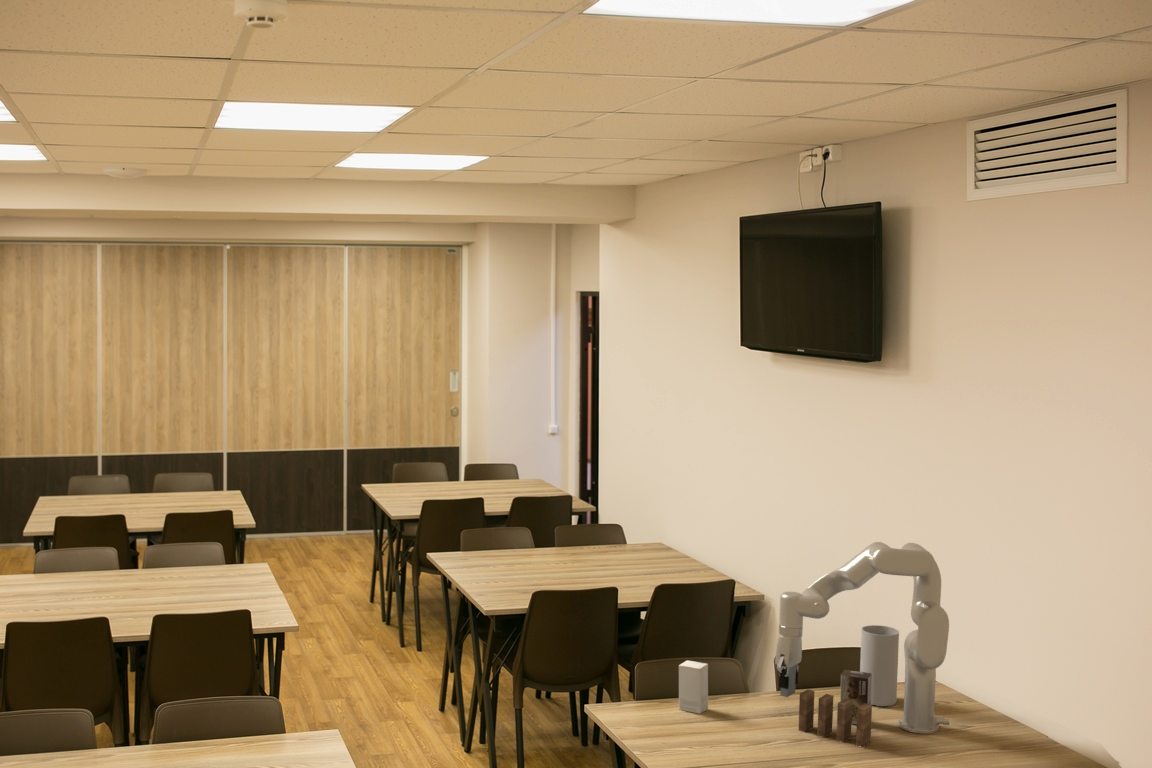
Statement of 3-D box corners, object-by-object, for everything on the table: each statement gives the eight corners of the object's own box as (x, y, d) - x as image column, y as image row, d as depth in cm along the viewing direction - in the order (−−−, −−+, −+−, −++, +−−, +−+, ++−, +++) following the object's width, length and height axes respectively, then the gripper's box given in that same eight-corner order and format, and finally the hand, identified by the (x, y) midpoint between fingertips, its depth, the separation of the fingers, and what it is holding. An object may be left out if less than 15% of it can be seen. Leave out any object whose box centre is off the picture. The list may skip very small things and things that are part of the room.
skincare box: (708, 709, 374) (709, 663, 373) (699, 715, 369) (701, 668, 368) (686, 704, 379) (687, 659, 378) (677, 709, 373) (678, 664, 372)
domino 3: (851, 737, 351) (852, 700, 351) (843, 742, 347) (844, 704, 346) (844, 735, 353) (845, 698, 352) (836, 740, 348) (837, 703, 348)
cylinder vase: (853, 695, 391) (856, 625, 390) (887, 694, 393) (890, 625, 391) (866, 707, 379) (869, 635, 377) (902, 707, 380) (904, 635, 379)
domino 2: (832, 732, 355) (833, 695, 355) (824, 737, 351) (825, 700, 350) (825, 730, 357) (826, 693, 356) (817, 735, 352) (818, 698, 352)
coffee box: (870, 721, 366) (872, 672, 365) (867, 727, 360) (868, 678, 359) (842, 716, 370) (844, 668, 369) (838, 722, 364) (840, 674, 363)
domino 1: (813, 727, 359) (814, 691, 359) (805, 732, 355) (806, 695, 354) (806, 725, 361) (807, 689, 360) (798, 730, 356) (799, 693, 356)
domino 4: (870, 742, 347) (872, 704, 347) (863, 747, 343) (864, 709, 342) (863, 740, 349) (864, 703, 348) (855, 745, 344) (857, 707, 344)
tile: (795, 692, 363) (796, 656, 362) (787, 697, 358) (788, 660, 358) (788, 691, 364) (790, 655, 364) (780, 695, 360) (782, 659, 359)
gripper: (792, 623, 369) (790, 676, 370) (767, 633, 356) (765, 689, 357) (813, 627, 365) (810, 681, 366) (788, 638, 351) (786, 694, 352)
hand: (788, 685), depth 361 cm, fingers closed on tile, 5 cm apart
